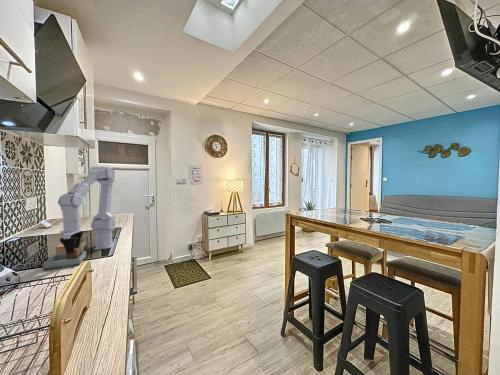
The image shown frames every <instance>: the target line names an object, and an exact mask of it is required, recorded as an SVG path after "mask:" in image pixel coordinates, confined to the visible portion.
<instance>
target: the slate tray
mask: <svg viewBox="0 0 500 375" xmlns="http://www.w3.org/2000/svg"><path fill="white" fill-rule="evenodd" d="M86 258H87V250H82V251H81V250H80V257H79V258H78V259H71V260H66V254H58V255H56V254H54V255H52V256H51V257H49V258H48V259H47V260H46V261H45V262H43V263H42V271H43V272H44V271H50V270H57V269H63V268H69V267H71V268H72V267H76V266H77V267H78V266H81V264H83V262H84V261H85V259H86ZM83 260H84V261H83ZM82 261H83V262H82Z"/></svg>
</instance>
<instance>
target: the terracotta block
mask: <svg viewBox="0 0 500 375" xmlns="http://www.w3.org/2000/svg"><path fill="white" fill-rule="evenodd" d="M58 254H66V250H65V247H64V245H63V244H62V243H61V244H58V245H57V246H55V255H58Z"/></svg>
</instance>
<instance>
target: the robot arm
mask: <svg viewBox="0 0 500 375" xmlns="http://www.w3.org/2000/svg"><path fill="white" fill-rule="evenodd" d="M115 175H116V171H115V170H114V168H113V167H112V166H91V167H90V169H88V174H87V175H86V176H85V178H84V180H82V181H81V182H76V183H75V184H74V185H73V187H72V188H71V189H70V190H69V191H68V192H67V193H64V194H62V195H60V196H59V198H58V200H57V204H58V205H59V207H60V211H61V212H62V226H63V228H62V229H63V230H61V231H60V234H63V237H61V238H60V239H59V242H60V243H61V245H62V244H63V245H64V247H65V250H66V252H67V254H71V253H74V248H79V247H80V245H81V239H82V237H83V235H84V231H82V228H81V218H80V217H81V216H80V206H81V205H82V204H83V200H84V198H85V196H86V195H87V193H88V192H89V191H90V187H91V186H92V185H93V184H94V183H95V182H97V183H99V184H100V193H99V202H98V213H97V214H96V215H94V216H93V218H92V221H91V225H90V227H91V229H92V230H93V233H95V248H93V250H94V251H97V250H98V251H99V250H104V249H105V250H106V249H112V248H113V246H114V245H115V242H114V241H113V231H114V229H115V227H116V218H115V216H114V215H113V214H111V204H112V196H113V195H112V193H113V184H114V182H115Z"/></svg>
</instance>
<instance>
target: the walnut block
mask: <svg viewBox="0 0 500 375" xmlns="http://www.w3.org/2000/svg"><path fill="white" fill-rule="evenodd" d="M80 252H81V247H80V246H79V248H74V253H71V254H67V252H66V260H71V259H78V258H79V257H80Z"/></svg>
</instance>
